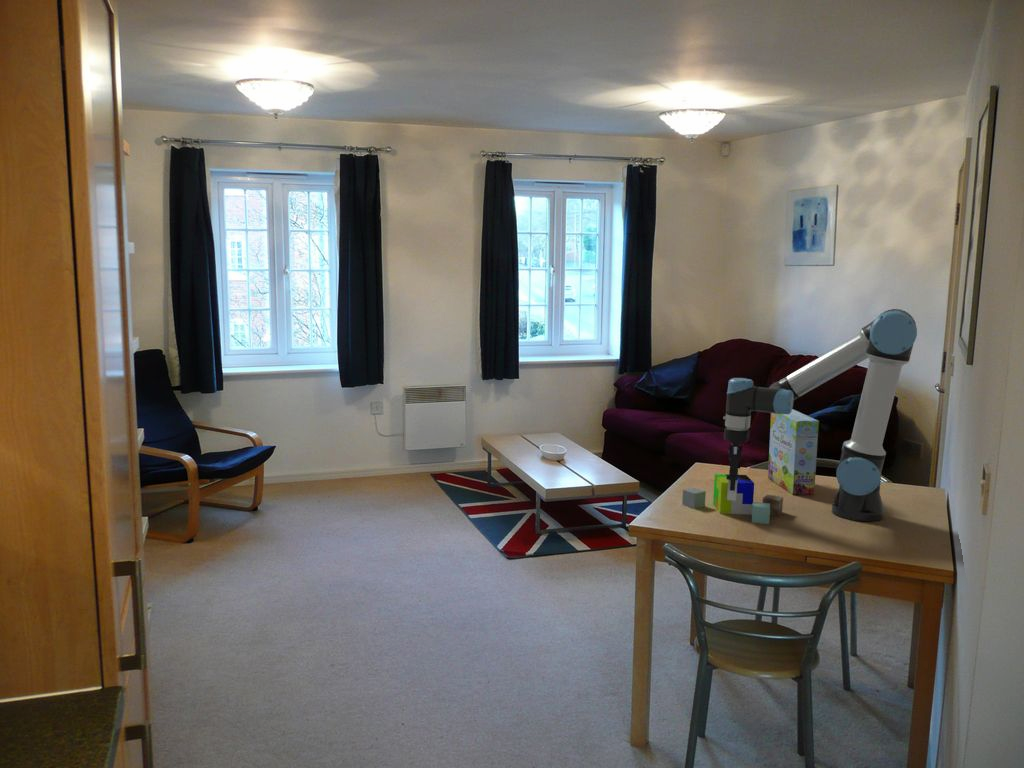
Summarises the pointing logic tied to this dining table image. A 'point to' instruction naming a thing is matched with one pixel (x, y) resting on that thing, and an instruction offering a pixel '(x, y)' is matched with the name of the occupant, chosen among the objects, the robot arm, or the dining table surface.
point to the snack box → (793, 452)
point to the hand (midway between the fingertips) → (731, 494)
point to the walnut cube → (774, 504)
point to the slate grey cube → (694, 498)
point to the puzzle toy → (742, 497)
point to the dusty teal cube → (760, 512)
